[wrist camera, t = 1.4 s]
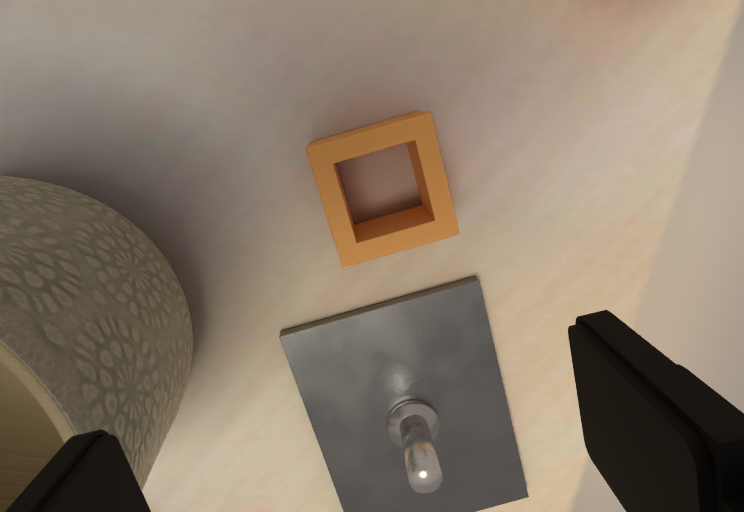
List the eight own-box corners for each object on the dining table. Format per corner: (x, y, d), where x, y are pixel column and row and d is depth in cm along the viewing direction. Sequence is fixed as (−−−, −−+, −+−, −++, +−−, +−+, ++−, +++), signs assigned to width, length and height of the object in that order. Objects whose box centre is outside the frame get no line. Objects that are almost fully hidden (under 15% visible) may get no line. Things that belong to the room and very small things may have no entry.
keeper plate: (280, 331, 30) (267, 382, 25) (475, 275, 30) (506, 314, 24) (355, 534, 35) (358, 616, 29) (524, 488, 35) (559, 561, 29)
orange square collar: (310, 142, 27) (305, 148, 23) (417, 110, 27) (430, 112, 23) (342, 245, 29) (342, 267, 25) (443, 216, 29) (459, 234, 25)
